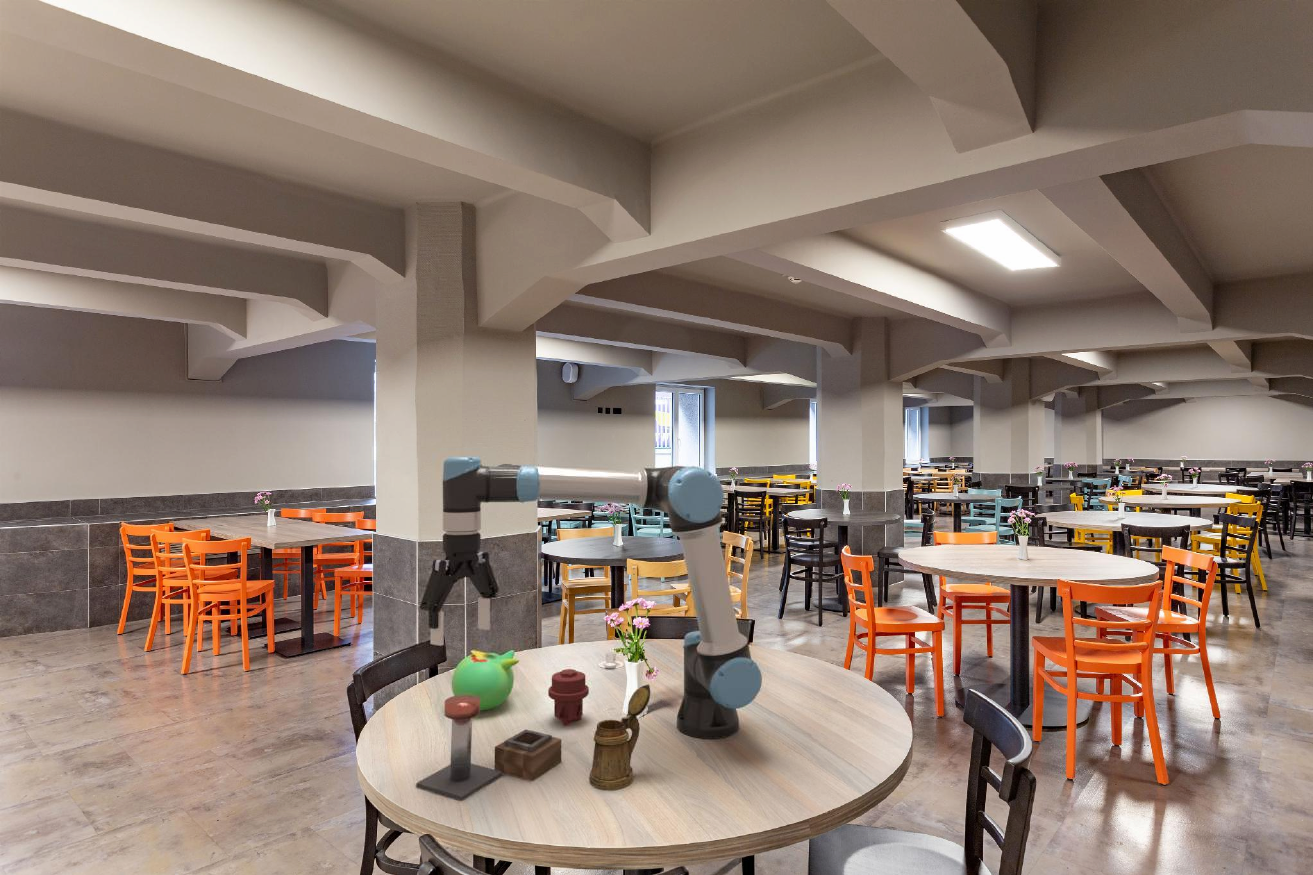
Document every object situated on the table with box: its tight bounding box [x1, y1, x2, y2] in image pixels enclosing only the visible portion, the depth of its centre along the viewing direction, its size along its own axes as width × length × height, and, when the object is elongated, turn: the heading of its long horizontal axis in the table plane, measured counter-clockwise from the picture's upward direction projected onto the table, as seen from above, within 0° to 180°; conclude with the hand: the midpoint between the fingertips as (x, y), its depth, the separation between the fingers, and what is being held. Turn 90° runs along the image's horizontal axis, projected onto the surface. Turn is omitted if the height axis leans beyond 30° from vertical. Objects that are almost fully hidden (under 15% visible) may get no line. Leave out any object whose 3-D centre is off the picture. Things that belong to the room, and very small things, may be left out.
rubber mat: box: [415, 762, 504, 802], centre depth 146 cm, size 12×12×1 cm
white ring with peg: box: [598, 651, 625, 669], centre depth 225 cm, size 9×8×4 cm
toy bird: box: [451, 649, 520, 711], centre depth 189 cm, size 18×17×15 cm
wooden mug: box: [588, 684, 651, 791], centre depth 149 cm, size 9×14×18 cm, turn 120°
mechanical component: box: [547, 668, 590, 727], centre depth 179 cm, size 12×10×10 cm
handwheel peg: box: [443, 695, 481, 782], centre depth 147 cm, size 7×7×16 cm
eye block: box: [493, 729, 562, 782], centre depth 153 cm, size 10×10×6 cm
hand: (461, 636), depth 147 cm, fingers open, 13 cm apart
